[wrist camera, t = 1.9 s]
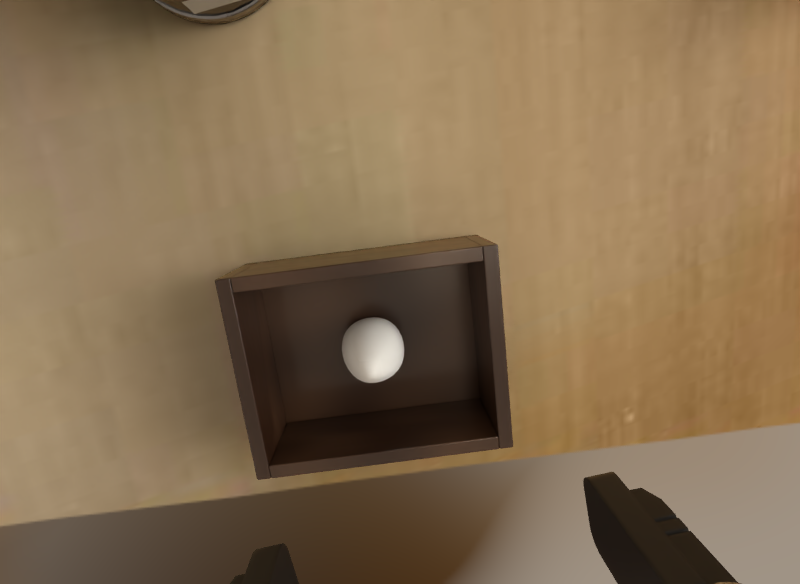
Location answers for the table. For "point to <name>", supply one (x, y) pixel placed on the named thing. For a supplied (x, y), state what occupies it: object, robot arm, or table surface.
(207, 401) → the table surface
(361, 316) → the crate
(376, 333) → the egg
